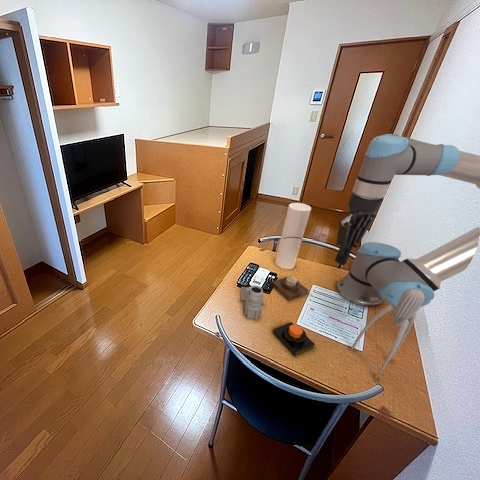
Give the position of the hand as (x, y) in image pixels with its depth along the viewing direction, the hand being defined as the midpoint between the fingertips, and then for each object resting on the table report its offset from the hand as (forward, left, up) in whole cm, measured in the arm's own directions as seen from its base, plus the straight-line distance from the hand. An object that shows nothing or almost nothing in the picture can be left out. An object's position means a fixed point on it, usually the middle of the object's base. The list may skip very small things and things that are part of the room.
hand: (340, 262), depth 85 cm
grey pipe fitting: (+20, -14, -25) cm, 35 cm away
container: (-12, -30, -25) cm, 41 cm away
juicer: (0, +21, -25) cm, 32 cm away
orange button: (+18, +5, -21) cm, 28 cm away
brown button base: (0, -15, -24) cm, 29 cm away
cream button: (0, -15, -21) cm, 26 cm away
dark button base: (+18, +5, -24) cm, 31 cm away
